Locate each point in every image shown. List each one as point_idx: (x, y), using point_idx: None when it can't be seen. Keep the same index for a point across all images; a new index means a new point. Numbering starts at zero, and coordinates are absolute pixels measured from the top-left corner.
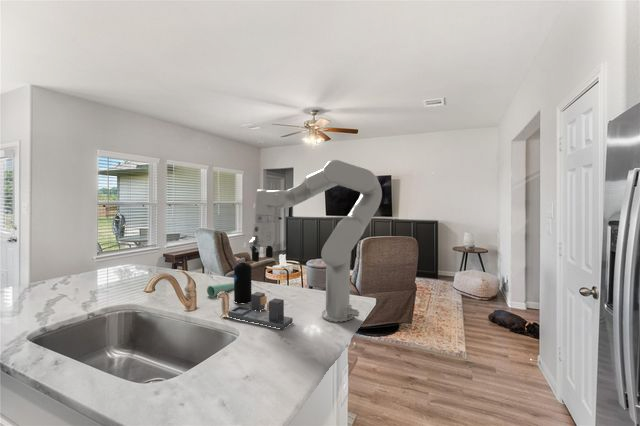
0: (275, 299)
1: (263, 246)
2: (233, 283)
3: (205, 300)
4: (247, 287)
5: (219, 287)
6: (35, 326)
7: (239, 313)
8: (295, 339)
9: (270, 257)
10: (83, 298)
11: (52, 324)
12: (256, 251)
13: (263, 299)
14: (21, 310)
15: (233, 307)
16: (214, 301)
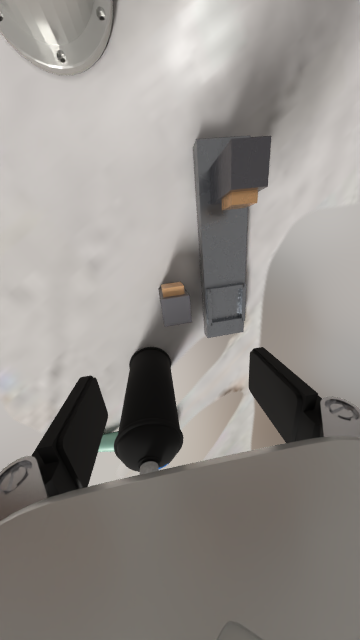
0: (241, 177)
1: (337, 438)
2: (102, 447)
3: (190, 414)
4: (154, 372)
5: None
6: None
7: (245, 290)
8: (276, 60)
9: (96, 382)
10: None
11: None
12: (345, 401)
13: (176, 285)
14: None
15: (213, 335)
16: (184, 400)
